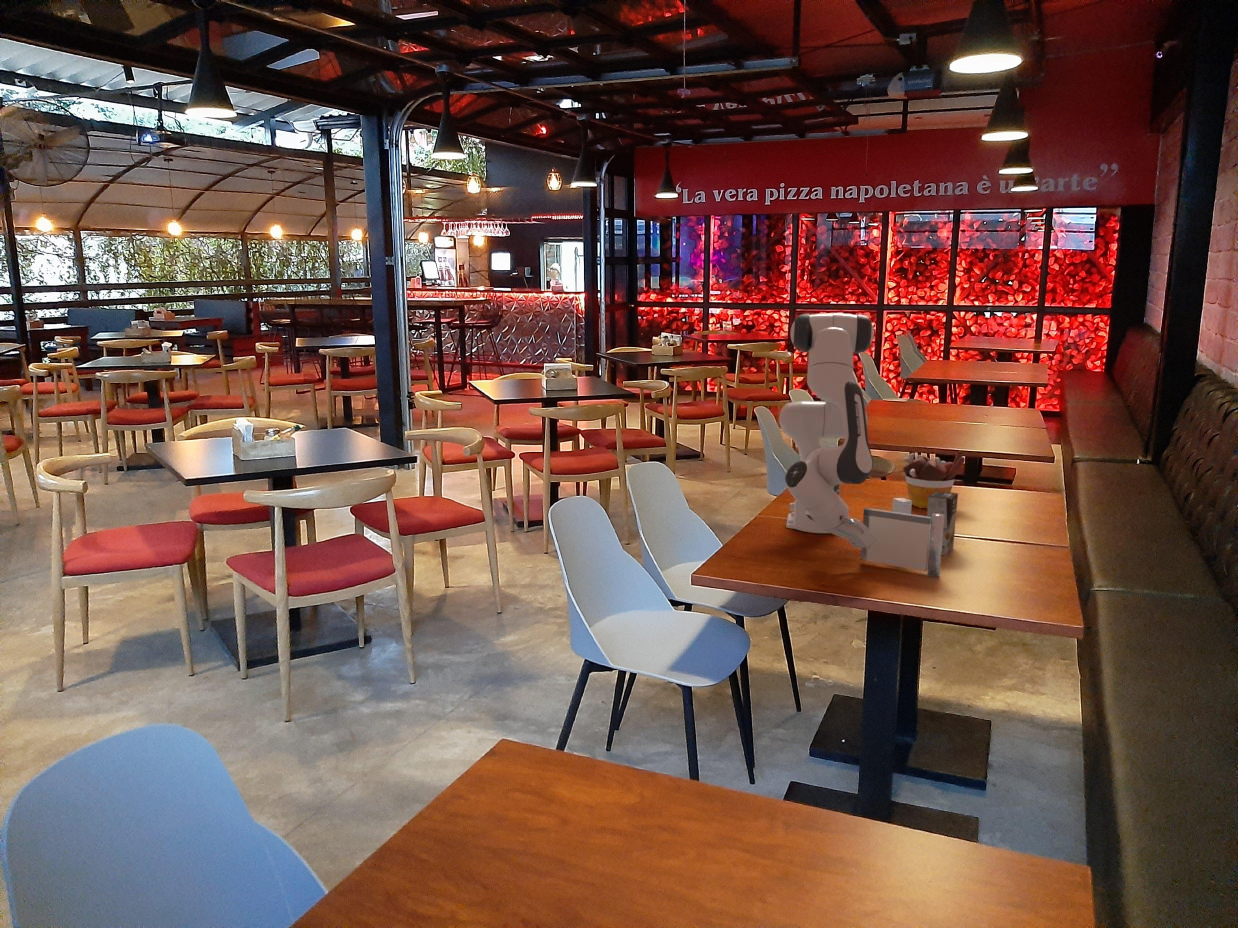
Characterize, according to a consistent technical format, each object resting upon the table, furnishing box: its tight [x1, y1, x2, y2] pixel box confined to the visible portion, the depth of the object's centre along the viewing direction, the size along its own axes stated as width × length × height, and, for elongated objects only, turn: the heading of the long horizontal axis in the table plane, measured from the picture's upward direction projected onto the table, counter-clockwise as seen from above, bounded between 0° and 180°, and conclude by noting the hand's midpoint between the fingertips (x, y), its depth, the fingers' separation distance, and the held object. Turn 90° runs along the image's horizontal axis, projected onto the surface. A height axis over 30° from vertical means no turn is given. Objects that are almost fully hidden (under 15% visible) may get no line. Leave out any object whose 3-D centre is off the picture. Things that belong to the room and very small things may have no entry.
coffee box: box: [926, 491, 959, 556], centre depth 252 cm, size 9×6×16 cm
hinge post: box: [926, 513, 944, 578], centre depth 229 cm, size 3×3×16 cm
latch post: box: [891, 497, 913, 514], centre depth 245 cm, size 4×3×16 cm
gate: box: [860, 507, 931, 572], centre depth 234 cm, size 17×2×14 cm, turn 56°
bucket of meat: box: [902, 450, 966, 510], centre depth 304 cm, size 20×16×20 cm
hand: (860, 545), depth 236 cm, fingers closed
